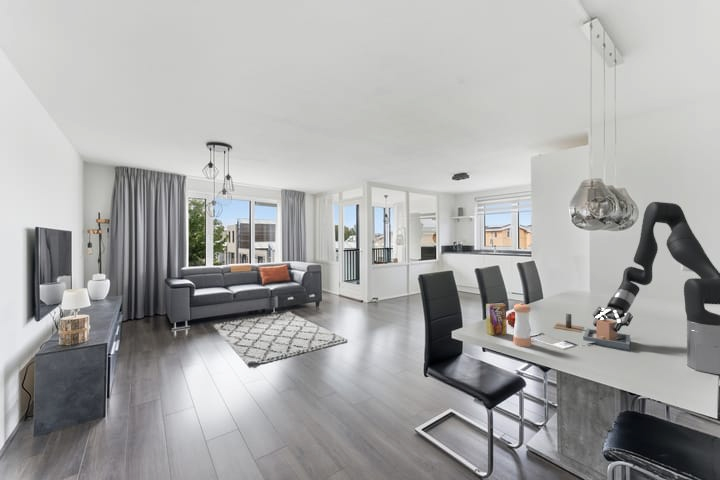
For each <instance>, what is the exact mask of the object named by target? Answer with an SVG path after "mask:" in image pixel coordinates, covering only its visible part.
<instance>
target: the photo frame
mask: <svg viewBox="0 0 720 480" xmlns="http://www.w3.org/2000/svg"><path fill="white" fill-rule="evenodd" d="M543 334H544V332H540V333H536V334H535V333H534V334H530V337H531V341H534V342H538V343H541V344H544V345H548V346H551V347H555V348H557V349H560V350H566V349H570V348H574V347H577V346H579V344H578V343H577V344H576V343H574V342H571V341H568V340H564V341H559V342H556V343H548V342H546V341H542V340H539V339H536V338H533V336H538V335H543Z"/></svg>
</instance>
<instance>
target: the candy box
mask: <svg viewBox="0 0 720 480" xmlns="http://www.w3.org/2000/svg"><path fill="white" fill-rule="evenodd" d="M485 312H486V313H485V316H486V318H485V319H486V334H488V335H489V334H490V336H501V335H502V336H503V335H508V331H507V329H508V328H507V325H508V323H507V320H506V318H507V304H505V303H501V302H498V303H485Z"/></svg>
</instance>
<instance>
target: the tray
mask: <svg viewBox="0 0 720 480" xmlns="http://www.w3.org/2000/svg"><path fill="white" fill-rule="evenodd" d="M590 334H594V335H595V334H596V335H597V329H592V328H586V330H585V332H584V334H583V336H582V337H583V339H582V340H583V341H588V342H589V343H588V342H587V345H592V346H593V345H594V346H597V347H598V346H599V347H603V348H609V349H610V348H611V349H614V350H615V349H616V350H621V351H626V352H630V346H631V337H630V336H631V335H630V334H627V333H626V334H625V333H620V332H619V333H618V332H617V341H611V340H605V339H599V338H597V337H593V336H592V337H591V336H589V335H590Z"/></svg>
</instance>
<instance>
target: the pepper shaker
mask: <svg viewBox="0 0 720 480" xmlns="http://www.w3.org/2000/svg"><path fill="white" fill-rule="evenodd" d="M512 308H513V312H515V326H513V333H514V334H513V344H514V345H515V346H519V347H522V348H523V347H526V348H527V347H531V346H532V340H531V338H532V336H530V335H531V325H530V321H529V320H530V317H529V316H530V315H529V313H530V312H531V307H530V306H529V305H528V304H525V303H524V302H520V303H517V304H514V306H513V307H512Z"/></svg>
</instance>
